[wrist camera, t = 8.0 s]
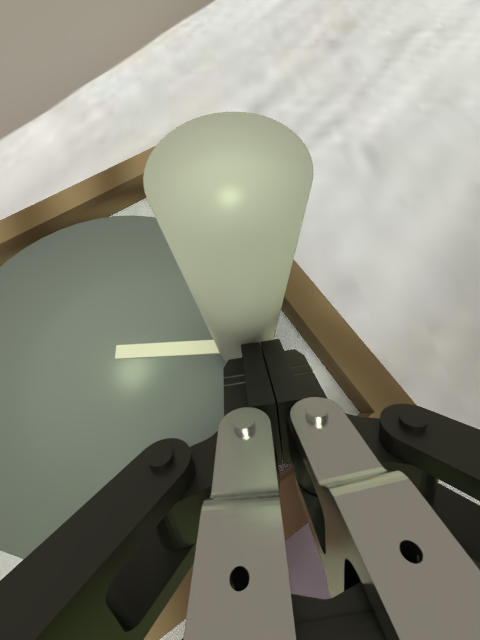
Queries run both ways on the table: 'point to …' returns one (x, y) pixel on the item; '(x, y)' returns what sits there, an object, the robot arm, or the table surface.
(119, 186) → the dial frame
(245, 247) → the dial
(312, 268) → the table surface
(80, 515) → the robot arm
